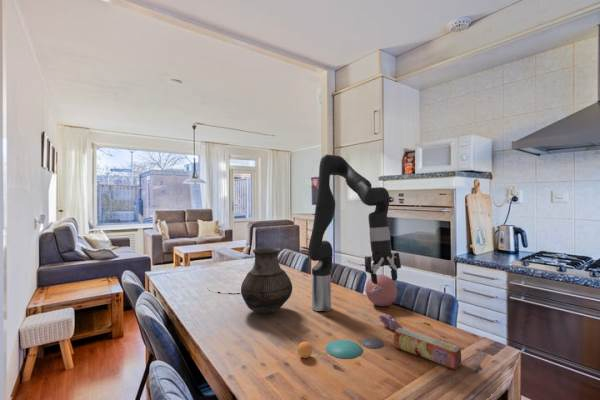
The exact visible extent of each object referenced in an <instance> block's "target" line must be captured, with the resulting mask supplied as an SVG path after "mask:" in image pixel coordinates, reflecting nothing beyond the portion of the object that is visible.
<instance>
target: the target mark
mask: <svg viewBox="0 0 600 400" xmlns="http://www.w3.org/2000/svg"><path fill="white" fill-rule="evenodd" d="M325 351H326V353H327V354H329V355H331V356H332V357H334V358H338V359H343V360H344V359H347V360H348V359H354V358H357V357H359V356H362V354H363V348H362V346H361V345H360V344H359V343H357V342H355V341H351V340H348V339H347V340H346V339H336V340H332V341H330V342H328V343H327V344H326V346H325Z"/></svg>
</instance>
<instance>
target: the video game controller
mask: <svg viewBox="0 0 600 400" xmlns="http://www.w3.org/2000/svg"><path fill="white" fill-rule="evenodd" d="M378 319H379V321H380V322H381V323H383V325H384V326H385V327H386V328H389V330H391V331H392V332H394V331H396V329H398V328H400V327H401V328H404V327H403V326H402V325H401V324H399V322H398V321H397V320H396V319H395V318H394V317H392V316H391V315H390V314H387V313H386V314H385V313H382V314H381V315H379V318H378Z"/></svg>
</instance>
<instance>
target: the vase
mask: <svg viewBox="0 0 600 400" xmlns="http://www.w3.org/2000/svg"><path fill="white" fill-rule="evenodd" d="M281 250H282V249H281V248H278V247H261V248H254V249H252V252H253V255H254V263H253V268H251V270H249V272H248V273H247V274H246V275H245V276H246V277H245V278H244V280H243V282H242V285H241V294H240V295H241V297H242V299H243V301H244V304H245V305H246V306H247V308H249V310H250V311H251V312H254V313H258V314H273V313H275V312H277V311H279V309H281V307H283V305H284V304H285V303H286V302H288V300H289V299H290V297H291V296H292V293H293V284H292V281H291V278H290V276H289V275H288V274H287V272H286V271H285V270H284V269H283V268H281V265H280V262H279V258H278V257H279V253H280V252H281Z"/></svg>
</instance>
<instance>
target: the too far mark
mask: <svg viewBox="0 0 600 400" xmlns="http://www.w3.org/2000/svg"><path fill="white" fill-rule="evenodd" d="M361 345H362V346H364V347H366V348H369V349H380V348H382V347H383V346H384V345H385V344H384V342H383V341H382V340H381V339H379V338H377V337H376V338H375V337H365V338H363V339H362V340H361Z"/></svg>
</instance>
